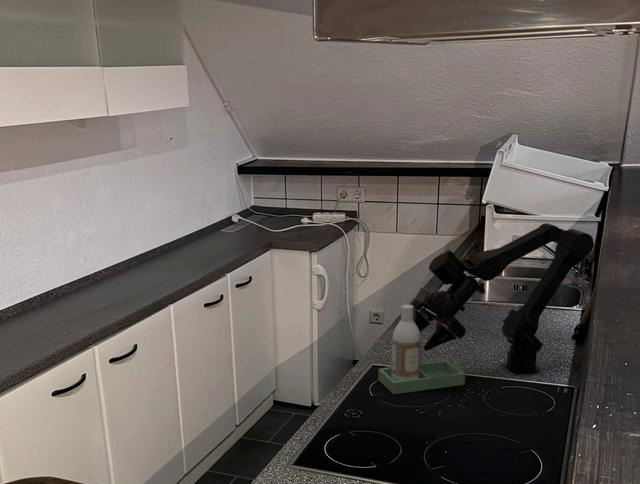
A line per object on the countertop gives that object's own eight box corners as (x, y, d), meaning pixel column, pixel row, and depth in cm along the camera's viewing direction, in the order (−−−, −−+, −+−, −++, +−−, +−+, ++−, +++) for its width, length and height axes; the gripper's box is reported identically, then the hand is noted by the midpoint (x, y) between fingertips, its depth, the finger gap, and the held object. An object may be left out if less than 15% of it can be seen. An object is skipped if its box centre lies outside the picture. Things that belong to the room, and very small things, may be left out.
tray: (446, 370, 202) (447, 359, 201) (464, 384, 193) (465, 373, 192) (378, 379, 198) (378, 368, 197) (393, 394, 189) (393, 382, 188)
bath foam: (399, 388, 190) (402, 311, 183) (386, 378, 196) (388, 304, 189) (423, 384, 192) (427, 308, 185) (410, 374, 198) (412, 300, 191)
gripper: (418, 268, 195) (379, 315, 196) (457, 285, 178) (413, 336, 179) (444, 294, 200) (405, 339, 201) (484, 313, 184) (441, 363, 184)
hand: (415, 343), depth 191 cm, fingers open, 9 cm apart
